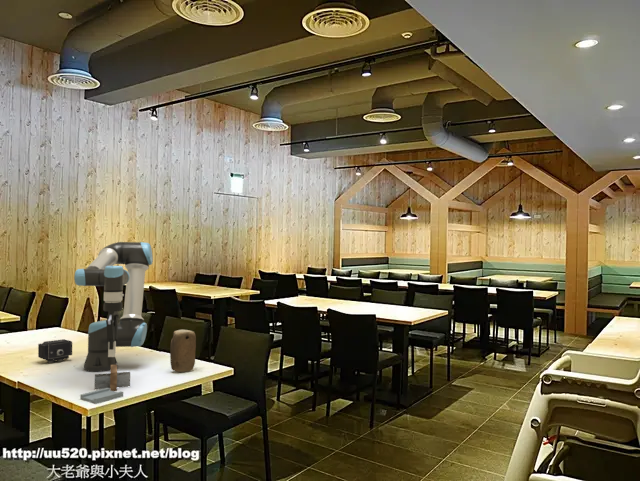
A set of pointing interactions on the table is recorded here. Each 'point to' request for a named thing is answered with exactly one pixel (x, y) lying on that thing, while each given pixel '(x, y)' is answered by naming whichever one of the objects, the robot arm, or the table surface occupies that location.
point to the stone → (183, 350)
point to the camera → (55, 350)
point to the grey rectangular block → (104, 380)
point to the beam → (113, 378)
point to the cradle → (100, 395)
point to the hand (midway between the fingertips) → (111, 356)
